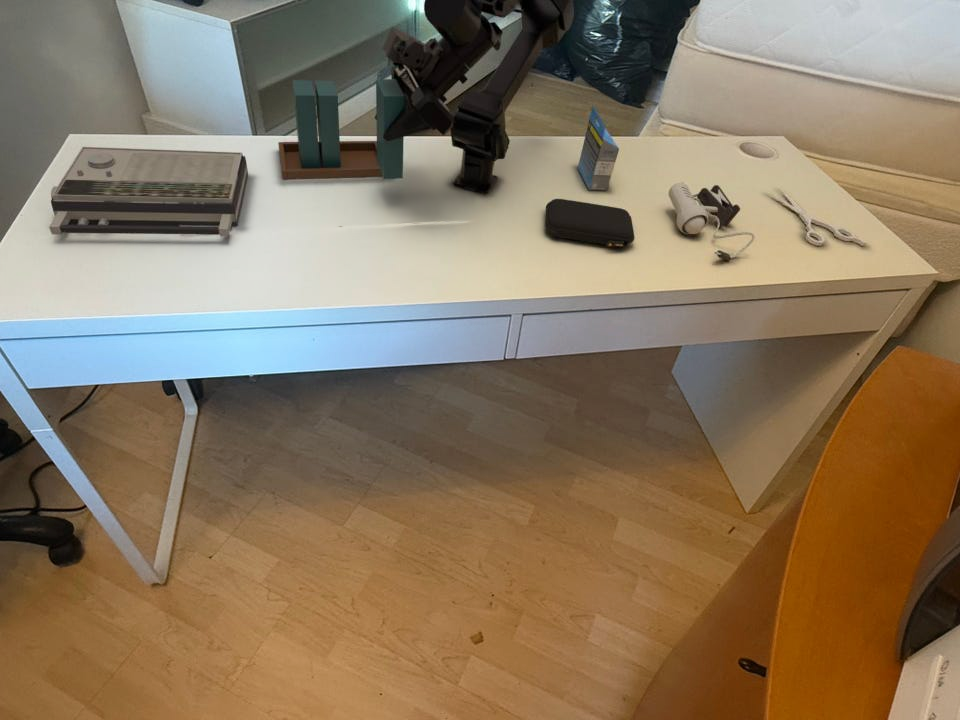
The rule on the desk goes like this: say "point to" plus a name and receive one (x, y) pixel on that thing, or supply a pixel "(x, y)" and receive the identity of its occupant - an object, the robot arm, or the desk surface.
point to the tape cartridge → (597, 154)
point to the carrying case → (589, 222)
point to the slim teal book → (386, 112)
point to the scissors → (809, 219)
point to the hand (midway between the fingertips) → (380, 129)
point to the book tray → (354, 164)
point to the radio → (150, 192)
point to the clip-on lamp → (704, 212)
